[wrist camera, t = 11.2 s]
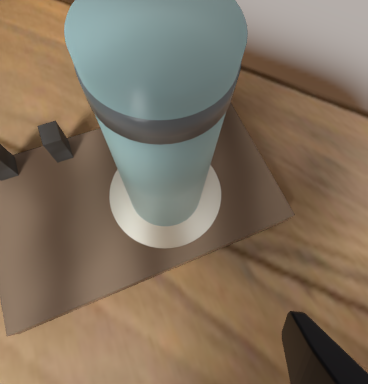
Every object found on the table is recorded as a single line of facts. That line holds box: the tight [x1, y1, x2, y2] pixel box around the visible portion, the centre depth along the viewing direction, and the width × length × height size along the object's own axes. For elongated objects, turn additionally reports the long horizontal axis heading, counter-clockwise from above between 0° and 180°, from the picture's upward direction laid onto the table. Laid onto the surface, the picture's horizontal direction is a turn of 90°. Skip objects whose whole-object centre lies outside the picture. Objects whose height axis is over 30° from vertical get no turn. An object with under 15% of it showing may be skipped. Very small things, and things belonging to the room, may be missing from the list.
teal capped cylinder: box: [64, 0, 248, 226], centre depth 14 cm, size 5×5×13 cm
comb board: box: [0, 102, 295, 336], centre depth 19 cm, size 20×12×4 cm, turn 113°
